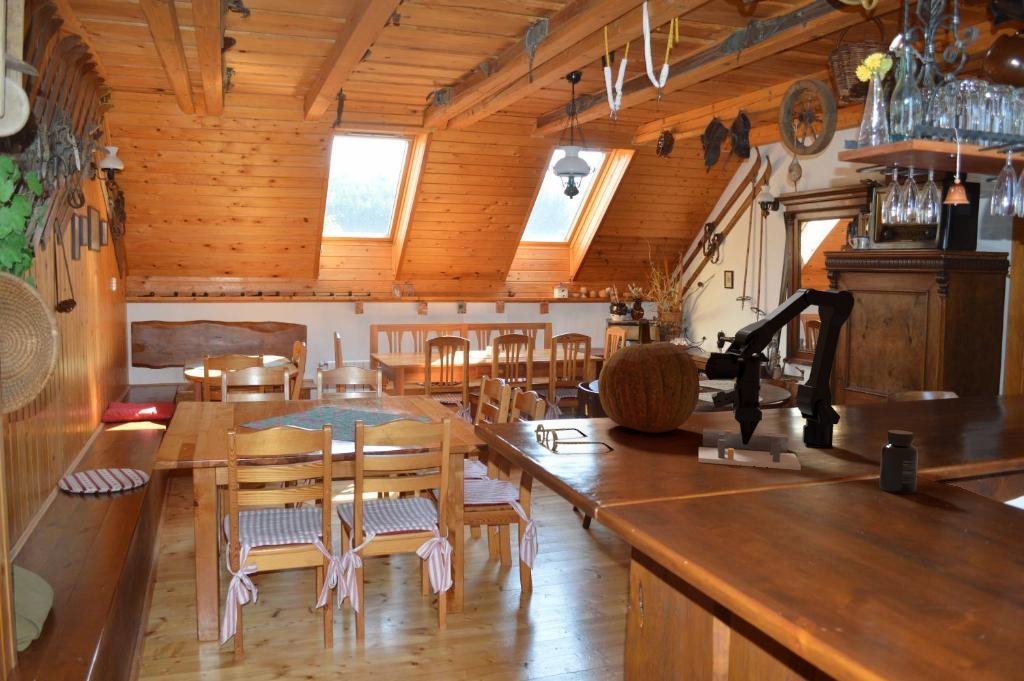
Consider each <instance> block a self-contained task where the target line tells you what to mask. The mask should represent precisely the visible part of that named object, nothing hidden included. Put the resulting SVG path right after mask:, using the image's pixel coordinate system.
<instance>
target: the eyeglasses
mask: <svg viewBox="0 0 1024 681" xmlns="http://www.w3.org/2000/svg"><path fill="white" fill-rule="evenodd" d="M572 430H573V431H576V432H578V433H579V434H580V435H581V436H582V437H584V438H587V437H589V436H588V435H587V434H585V433H584V432H582V431H581V430H579V429H577V428H576V427H575V428H574V427H573V428H572V427H571V428H568V427H567V428H564V427H563V428H550V429H549V428H545V427H544V424H543V423H542V424H541V423H540V424H538V425H537V426H536V429H534V433H535V436H536V441H537V442H541V443H540V444H541V445H542V444H544V443H545V444H546V448H549V449H550V446H549V442H550V440H549V434H550V432H551V434H552V439H553V440H552V441H553V444H552V448H551V450H550V451H555V450H557V448H558V446H559V445H591V444H592V445H594V444H595V445H599V444H600V445H603V446H605V447H606V448H607V449H608V450H609V451H615V449H614V448H612V447H611V446H610V445H609V444H606V443H605V442H602V441H601V442H600V441H559V437H558V435H557V434H558V433H557V432H560V431H561V432H563V431H572ZM539 433H540V434H539ZM541 433H542V435H541Z"/></svg>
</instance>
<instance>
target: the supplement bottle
mask: <svg viewBox="0 0 1024 681" xmlns="http://www.w3.org/2000/svg"><path fill="white" fill-rule="evenodd" d="M886 435H887V437H886V441H887V443H885V444H883V445H882V446H881V449H880V450H881V451H880V467H879V468H880V469H879V483H878V484H879V485H878V486H879V488H880V489H881V490H883V491H884V492H888V493H893V494H901V495H909V494H914V493H915V492H916V491H917V480H918V479H917V478H918V465H919V464H918V462H919V460H918V459H919V451H918V448H917V446H916V447H915V445H913V443H914V442H915V441H914V435H915V434H914V432H911V431H906V430H902V429H901V430H899V429H895V430H894V429H893V430H891V429H890V430H887V434H886Z"/></svg>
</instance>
